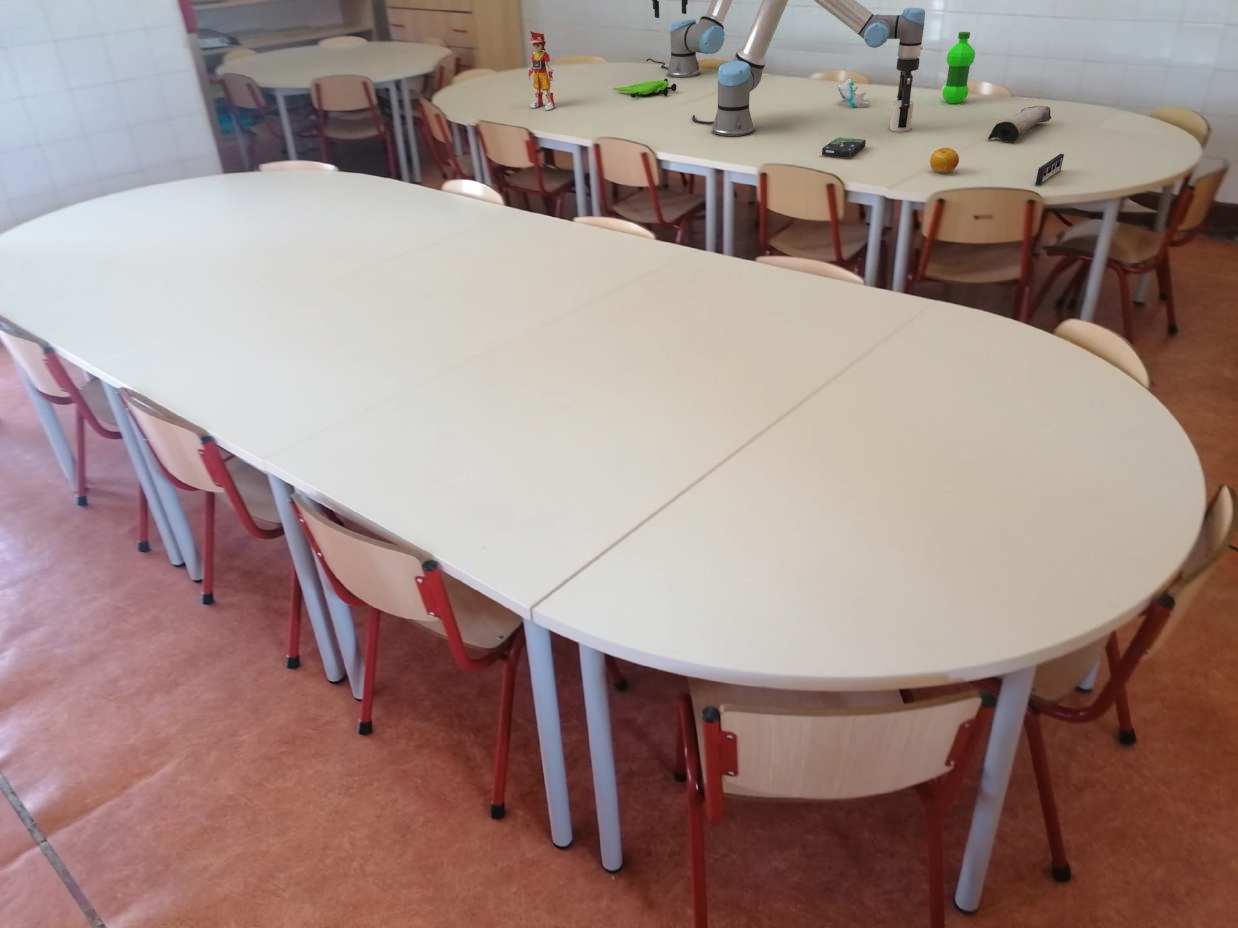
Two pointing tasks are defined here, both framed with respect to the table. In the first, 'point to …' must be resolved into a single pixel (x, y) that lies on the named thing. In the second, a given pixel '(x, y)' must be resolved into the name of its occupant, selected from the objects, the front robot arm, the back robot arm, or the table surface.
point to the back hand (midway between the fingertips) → (670, 16)
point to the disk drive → (843, 147)
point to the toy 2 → (648, 88)
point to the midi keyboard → (1049, 169)
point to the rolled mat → (1020, 123)
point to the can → (896, 114)
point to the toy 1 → (541, 71)
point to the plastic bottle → (958, 69)
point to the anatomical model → (851, 94)
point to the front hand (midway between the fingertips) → (900, 124)
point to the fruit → (944, 160)
